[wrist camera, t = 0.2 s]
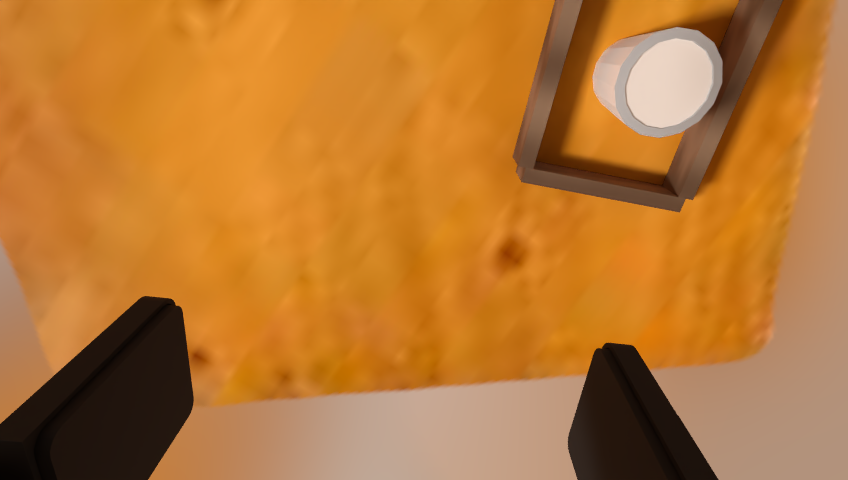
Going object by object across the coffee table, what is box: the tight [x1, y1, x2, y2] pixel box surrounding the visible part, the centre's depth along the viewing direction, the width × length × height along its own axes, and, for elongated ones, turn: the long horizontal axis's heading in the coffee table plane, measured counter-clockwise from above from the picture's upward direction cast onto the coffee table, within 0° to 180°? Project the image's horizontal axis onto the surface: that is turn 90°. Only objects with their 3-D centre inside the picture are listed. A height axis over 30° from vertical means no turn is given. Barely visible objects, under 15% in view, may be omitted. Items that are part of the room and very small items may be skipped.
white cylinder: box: [593, 27, 723, 138], centre depth 34 cm, size 7×7×7 cm
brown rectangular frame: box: [513, 0, 783, 212], centre depth 35 cm, size 18×14×3 cm
